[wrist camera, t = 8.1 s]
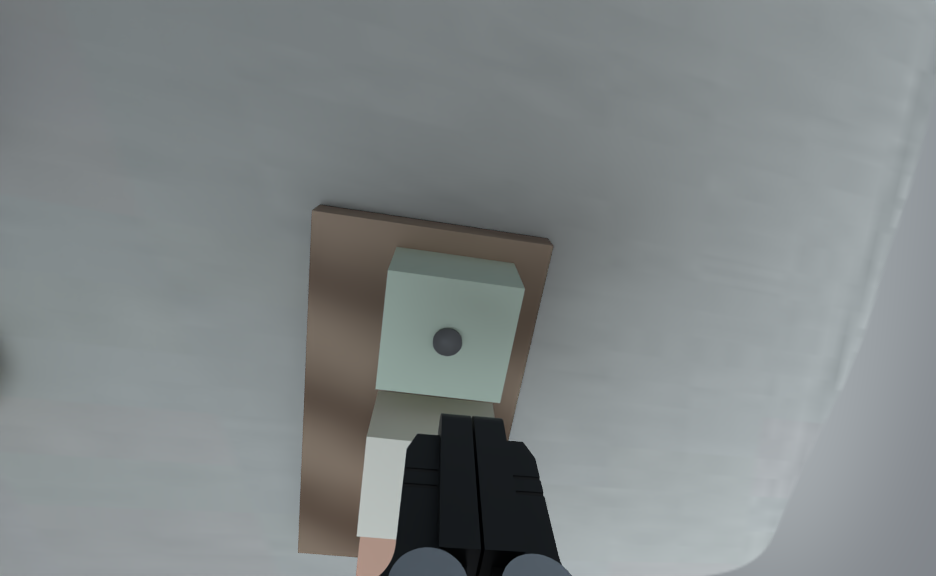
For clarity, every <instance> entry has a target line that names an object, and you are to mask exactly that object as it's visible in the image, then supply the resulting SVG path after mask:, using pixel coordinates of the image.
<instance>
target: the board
mask: <svg viewBox="0 0 936 576" xmlns="http://www.w3.org/2000/svg"><path fill="white" fill-rule="evenodd" d="M396 247H402V248H409V249H416V250H424V251H431V252H438V253H445V254H452V255H459V256H466V257H473V258H480V259H487V260H494V261H501V262H508V263H514V264H515V267H516V269H517V271H518V274H519V276H520V278H521V281H522V283H523V285H524V288H525V291H524V296H523V300H522V305H521V310H520V314H519V319H518V323H517V328H516V332H515V337H514V342H513V346H512V351H511V355H510V360H509V364H508V369H507V374H506V378H505V383H504V387H503V392H502V396H501V401H500V403H494V402H485V401H476V400H467V399H458V398H449V397H441V396H432V395H423V394H414V393H405V392H396V391H387V390H379V389H375V388H376V379H377V369H378V360H379V350H380V340H381V331H382V321H383V312H384V302H385V292H386V283H387V273H388V268H389V266H390V263H391V260H392V258H393V255H394V252H395V250H396ZM552 250H553V245H552V243H551V242H550V241H549V239H548V238H541V237H534V236H527V235H521V234H514V233H507V232H500V231H494V230H487V229H480V228H473V227H467V226H460V225H453V224H446V223H440V222H433V221H426V220H419V219H413V218H406V217H399V216H392V215H386V214H379V213H372V212H365V211H359V210H352V209H345V208H338V207H332V206H325V205H319V206H317V207H316V208H315V209H313V210H312V220H311V245H310V270H309V294H308V319H307V343H306V368H305V393H304V417H303V442H302V466H301V491H300V516H299V540H298V553H309V554H322V555H334V556H347V557H358V551H359V542H360V537H359V536H357V528H358V518H359V508H360V498H361V488H362V478H363V468H364V458H365V448H366V438H367V433H368V429H369V425H370V421H371V417H372V413H373V409H374V405H375V401H376V397H377V393H378V391H387V392H396V393H405V394H414V395H423V396H432V397H440V398H449V399H458V400H467V401H476V402H485V403H493V410H494V416H495V418H502V419H503V421H504V427H505V433H506V439H507V441H508V439H509V434H510V430H511V426H512V422H513V417H514V413H515V409H516V404H517V400H518V396H519V392H520V387H521V383H522V379H523V374H524V370H525V366H526V362H527V357H528V353H529V349H530V345H531V340H532V336H533V332H534V327H535V323H536V319H537V315H538V310H539V306H540V302H541V297H542V293H543V289H544V285H545V280H546V276H547V272H548V268H549V263H550V259H551V255H552Z"/></svg>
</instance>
